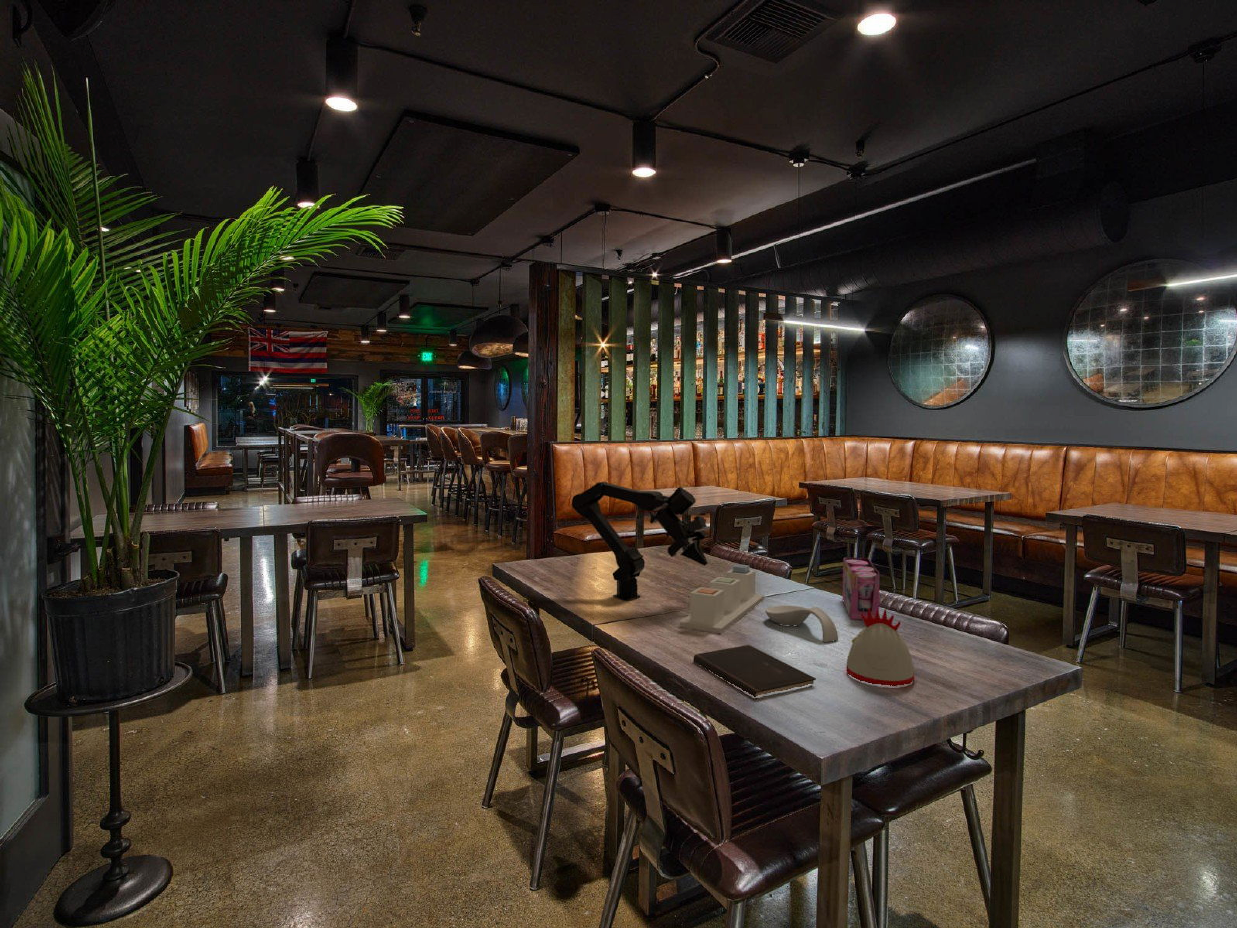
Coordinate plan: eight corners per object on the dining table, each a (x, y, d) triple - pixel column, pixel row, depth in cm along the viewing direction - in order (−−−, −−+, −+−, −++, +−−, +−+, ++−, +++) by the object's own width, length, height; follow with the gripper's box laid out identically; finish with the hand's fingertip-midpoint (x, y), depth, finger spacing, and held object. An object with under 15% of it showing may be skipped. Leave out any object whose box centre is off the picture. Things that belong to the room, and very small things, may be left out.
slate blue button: (732, 579, 200) (732, 566, 200) (736, 576, 203) (737, 564, 203) (745, 580, 198) (745, 567, 198) (749, 578, 201) (749, 565, 201)
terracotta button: (697, 605, 176) (697, 591, 175) (703, 602, 179) (703, 588, 179) (711, 607, 174) (711, 593, 173) (716, 604, 177) (716, 589, 177)
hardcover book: (748, 653, 157) (749, 644, 156) (815, 688, 136) (816, 678, 136) (693, 664, 150) (693, 654, 150) (754, 702, 129) (754, 691, 129)
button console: (679, 626, 175) (679, 592, 175) (727, 595, 208) (728, 566, 208) (721, 634, 169) (721, 598, 169) (764, 600, 202) (764, 570, 202)
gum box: (880, 623, 180) (881, 575, 179) (850, 621, 181) (851, 573, 181) (868, 600, 203) (869, 558, 202) (841, 598, 205) (842, 556, 204)
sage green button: (716, 594, 188) (716, 580, 188) (721, 591, 191) (721, 577, 191) (729, 595, 186) (729, 582, 186) (733, 592, 189) (734, 579, 189)
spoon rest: (756, 620, 183) (757, 595, 182) (789, 614, 188) (790, 590, 187) (814, 646, 161) (815, 618, 161) (849, 639, 166) (850, 612, 166)
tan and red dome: (847, 660, 151) (849, 597, 150) (911, 669, 146) (914, 604, 145) (845, 682, 138) (847, 613, 137) (915, 692, 133) (918, 621, 132)
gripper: (677, 511, 185) (713, 552, 180) (701, 504, 201) (735, 542, 196) (652, 535, 189) (687, 577, 184) (678, 527, 205) (710, 565, 201)
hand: (706, 564), depth 191 cm, fingers closed
